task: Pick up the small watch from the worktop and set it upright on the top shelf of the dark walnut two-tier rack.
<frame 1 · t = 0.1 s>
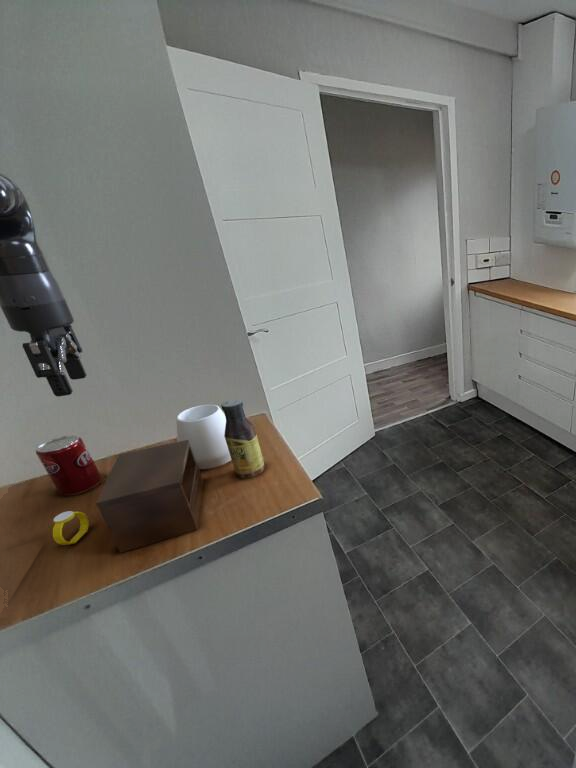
hand: (72, 386, 76), 30 cm above the counter, tool pointing down, fingers open, 8 cm apart
soda can: (82, 487, 95), on the counter
sauce bottle: (252, 472, 102), on the counter
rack: (166, 513, 88), on the counter
watch: (78, 539, 81), on the counter
cup: (215, 459, 106), on the counter
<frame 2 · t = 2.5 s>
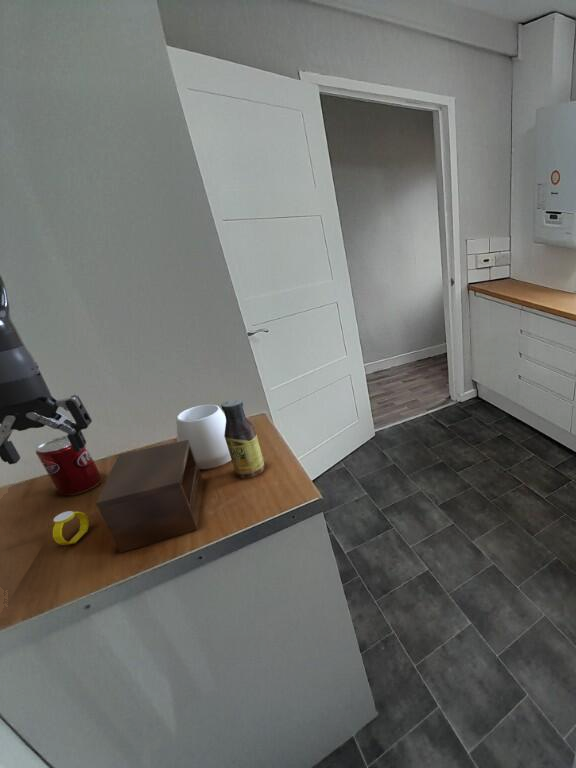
hand: (48, 455, 75), 19 cm above the counter, tool pointing down, fingers open, 8 cm apart
nothing on the counter moved.
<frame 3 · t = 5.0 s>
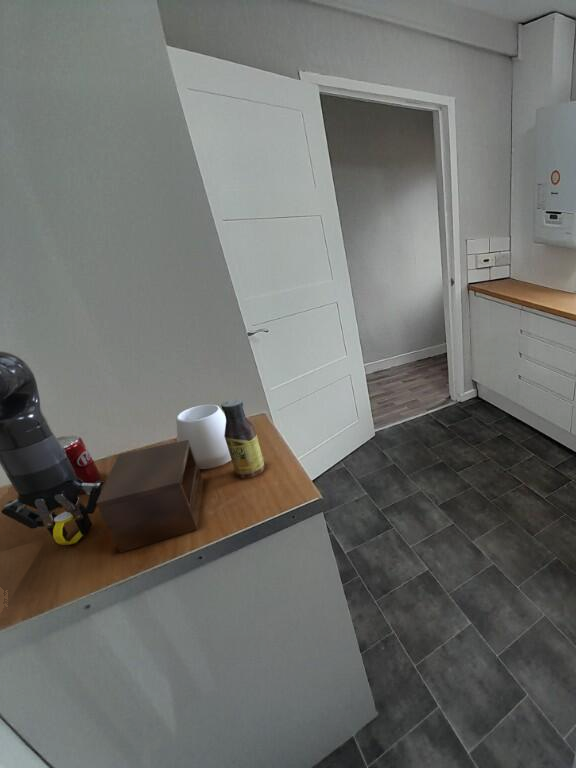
hand: (75, 534, 80), 1 cm above the counter, tool pointing down, fingers closed on watch, 2 cm apart
watch: (78, 539, 81), on the counter, touching gripper
everything else where it was.
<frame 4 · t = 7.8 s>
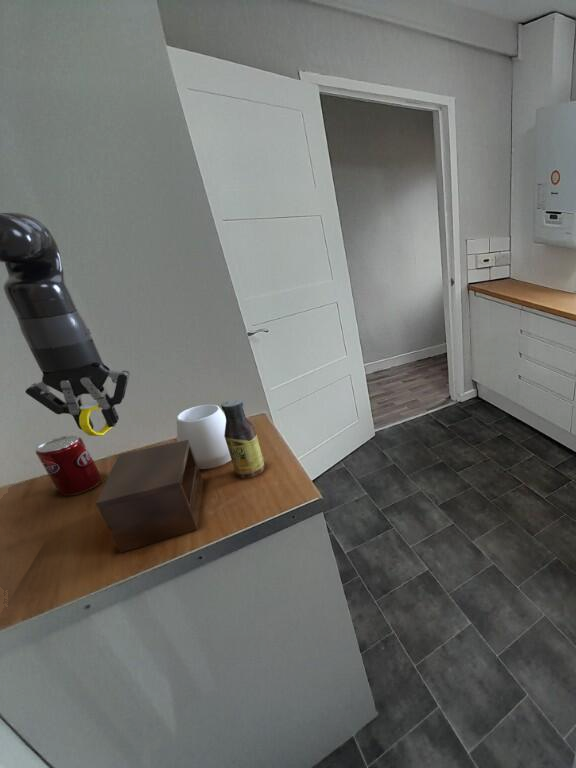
hand: (101, 427, 76), 23 cm above the counter, tool pointing down, fingers closed on watch, 2 cm apart
watch: (104, 432, 77), point 21 cm above the counter, touching gripper
everything else where it was.
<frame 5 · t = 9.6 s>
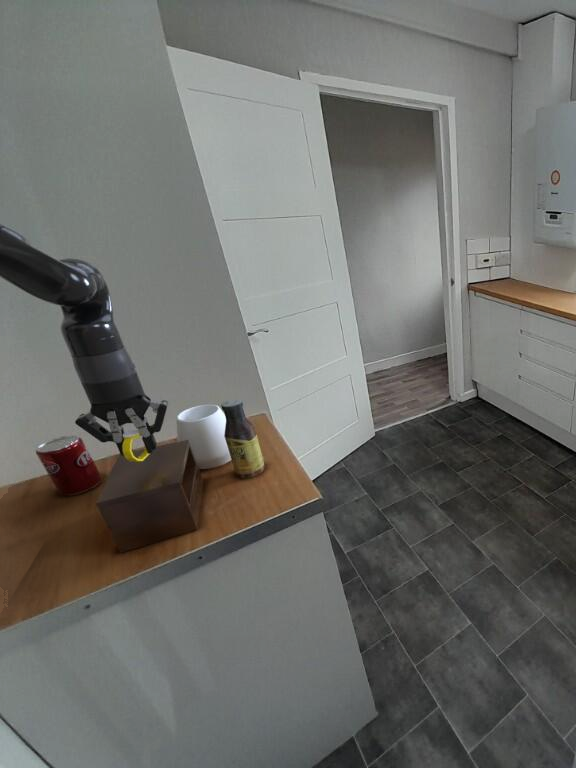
hand: (141, 453, 81), 15 cm above the counter, tool pointing down, fingers closed on watch, 2 cm apart
watch: (143, 458, 82), point 14 cm above the counter, touching gripper
everything else where it was.
when the fingers open (13 cm above the counter, at t = 10.6 s): watch stays where it is, resting on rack.
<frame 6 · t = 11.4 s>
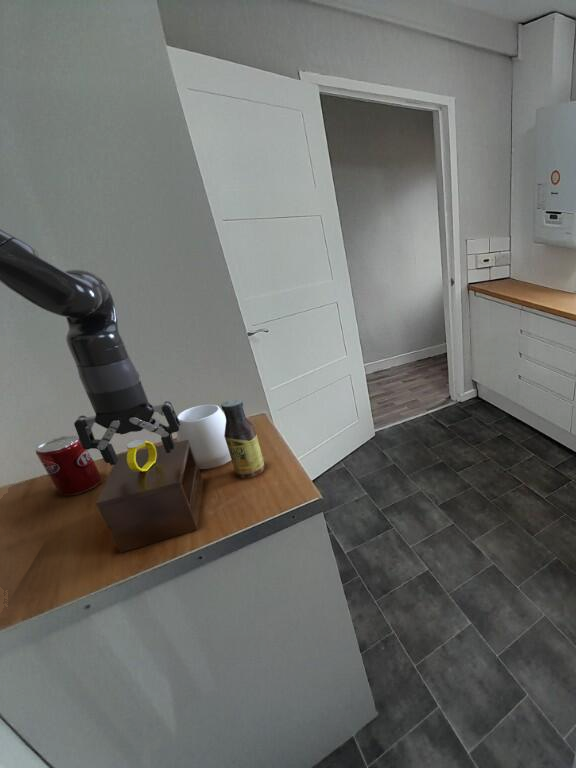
hand: (143, 456, 82), 15 cm above the counter, tool pointing down, fingers open, 8 cm apart
watch: (147, 468, 83), point 12 cm above the counter, touching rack
everything else where it was.
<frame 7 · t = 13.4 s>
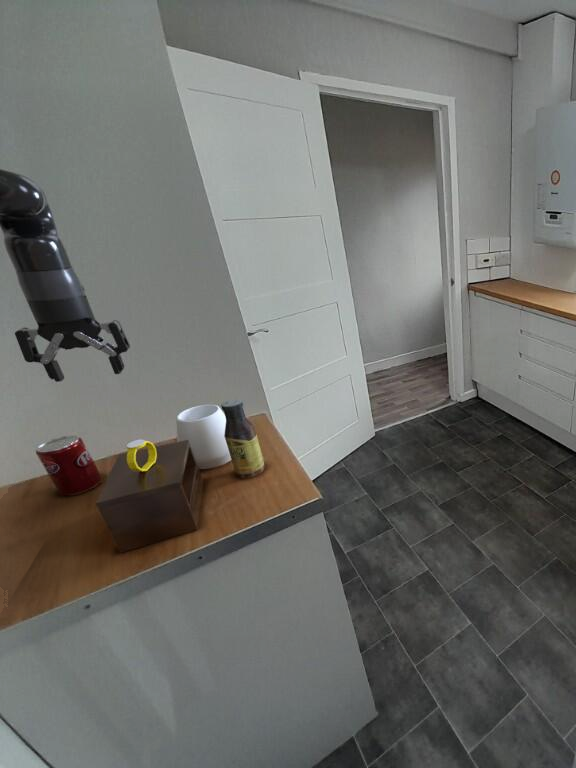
hand: (90, 376, 80), 30 cm above the counter, tool pointing down, fingers open, 8 cm apart
nothing on the counter moved.
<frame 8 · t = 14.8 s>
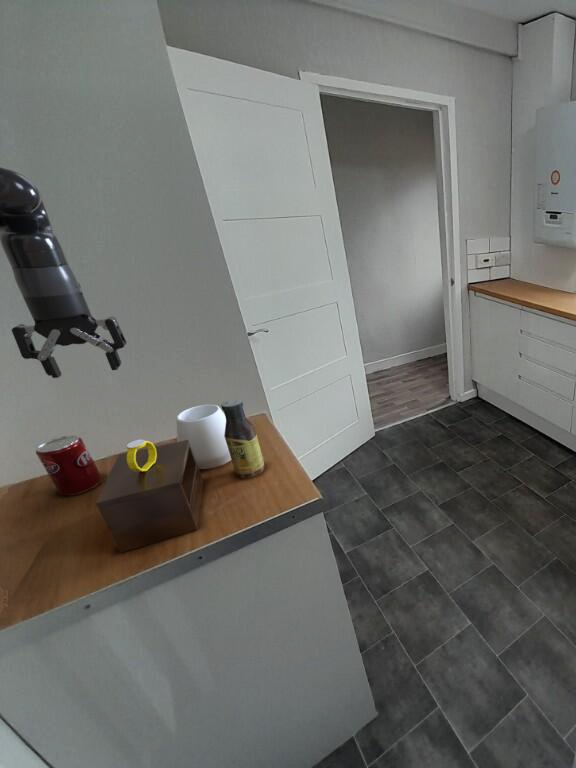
hand: (87, 372, 81), 30 cm above the counter, tool pointing down, fingers open, 8 cm apart
nothing on the counter moved.
at the end: watch inside the target area (0.0 cm from its centre), point 11.8 cm above the counter; watch tilted 0°; the gripper is holding nothing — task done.
